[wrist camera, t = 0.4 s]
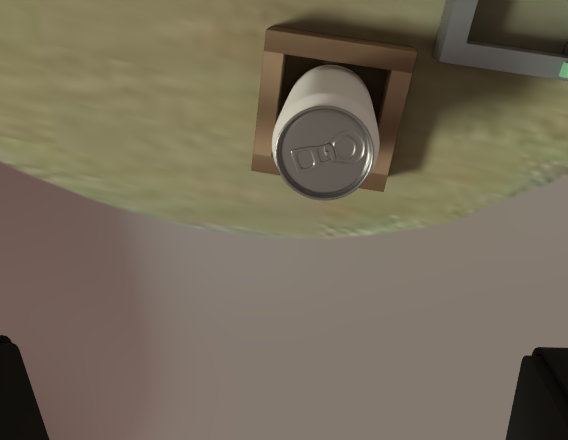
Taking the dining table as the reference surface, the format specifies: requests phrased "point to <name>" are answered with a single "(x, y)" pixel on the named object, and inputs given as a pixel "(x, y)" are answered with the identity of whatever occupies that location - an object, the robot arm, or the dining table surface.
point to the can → (326, 134)
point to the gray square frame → (490, 48)
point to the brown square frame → (337, 50)
